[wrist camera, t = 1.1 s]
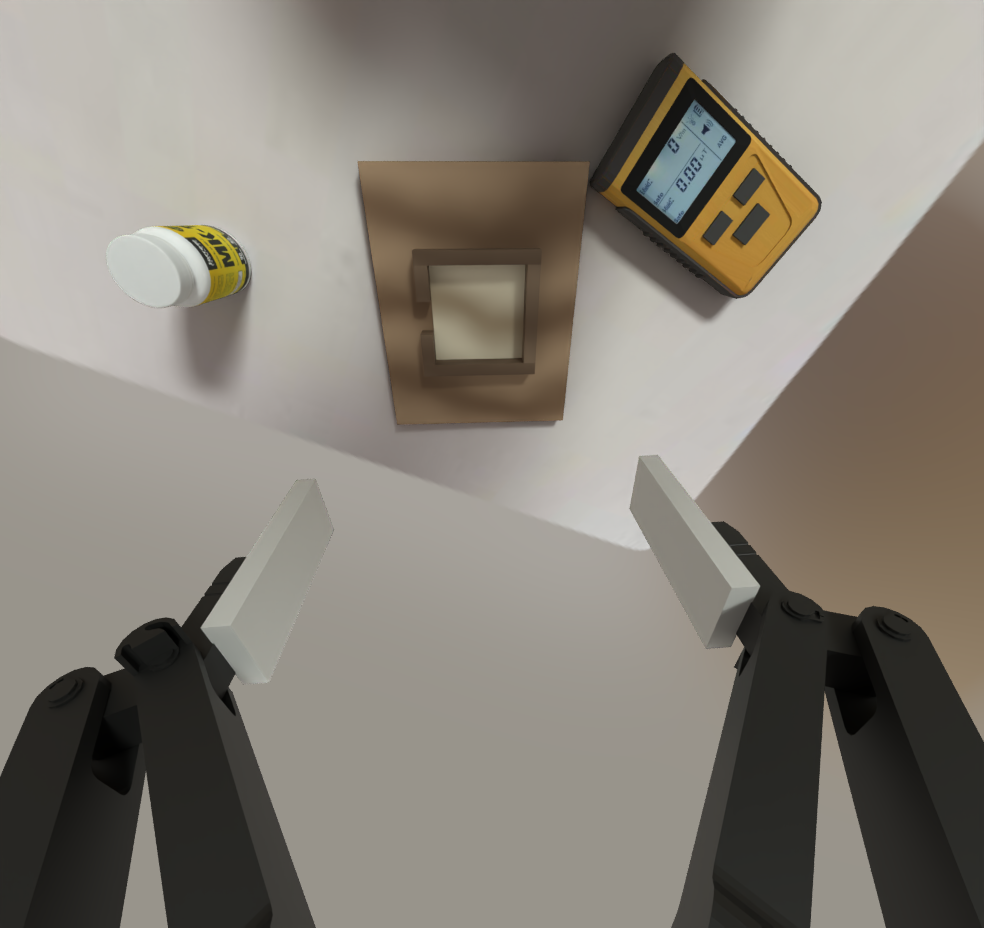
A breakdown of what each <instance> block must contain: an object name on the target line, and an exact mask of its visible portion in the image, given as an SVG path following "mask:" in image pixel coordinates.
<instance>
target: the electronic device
mask: <svg viewBox="0 0 984 928" xmlns="http://www.w3.org/2000/svg"><path fill="white" fill-rule="evenodd" d="M590 186H591V187H592V188H594V189H595V190H596V191H597V192H599V193H600V194H602V195H603V196H604V197H605V198H607V199H608V200H609V201H610V202H612V203H613V204H614V205H615V206H617V208H616V210H617V211H618V212H619V213H621V214H622V215H623V216H624V217H626V218H627V219H628V220H629V221H631V222H632V223H633V224H634V225H636V226H637V227H638V228H639V229H641V230H642V231H643V235H644V236H649V237H650V240H651V241H653V242H657V246H658V247H663V248H664V252H668V253H670V256H671V257H673V258H677V262H679V263H683V267H685V268H689V271H690V272H692V273H695V276H696V277H698V278H702V279H704V280H705V281H706V282H707V283H709V284H710V285H711V286H712V287H714V288H715V289H716V290H717V291H719V292H720V293H721V294H723V295H726V296H729V297H732V298H736V299H737V298H742V297H746V296H748V295H749V294H750V293H751V292H752V291H753V290H754V289H755V288H756V287H757V286H758V284H759V283H760V282H761V281H762V280H763V279H764V277H765V276H766V275H767V274H768V273H769V272H770V270H771V269H772V268H773V267H774V266H775V265H776V263H777V262H778V261H779V260H780V259H781V258H782V257H783V255H784V254H785V253H786V252H787V251H788V250H789V248H790V247H791V246H792V245H793V244H794V243H795V241H796V240H797V239H798V238H799V237H800V236H801V234H802V233H803V232H804V231H805V230H806V229H807V227H808V226H809V225H810V224H811V223H812V222H813V220H814V219H815V218H816V217H817V215H818V213H819V212H820V209H821V204H822V202H821V199H820V197H819V195H818V194H817V193H816V192H815V191H814V190H813V189H812V188H811V187H810V186H809V185H808V184H807V183H806V182H805V181H804V180H803V179H802V178H801V177H800V176H799V175H798V174H797V173H796V172H795V171H794V170H793V169H792V166H791V165H788V164H787V162H786V161H785V159H784V158H782V157H781V156H780V155H779V153H778V152H776V151H775V150H774V149H773V148H772V145H769V144H768V143H767V142H766V141H765V138H762V137H761V136H760V135H759V132H758V131H755V129H754V128H753V127H752V125H751V124H750V123H748V122H747V121H746V120H745V119H744V116H741V115H740V114H739V113H738V112H737V109H736V108H735V109H734V108H733V107H732V106H731V105H730V104H729V103H728V102H727V101H726V100H725V99H724V98H723V96H722V95H721V94H720V93H719V92H718V91H717V90H716V89H715V88H714V87H713V86H712V85H711V84H710V83H708V82H707V81H706V80H704V79H703V80H700V79H699V78H698V77H697V76H696V75H695V74H694V73H693V72H692V71H691V70H690V69H689V68H688V67H687V66H686V65H685V64H684V62H683V61H682V60H681V59H680V58H679V57H678V56H677V55H676V54H675V53H672V54H669V55H668V56H667V57H666V58H665V59H663V60H662V61H661V62H660V63H659V64H658V65H657V67H656V68H655V70H654V72H653V73H652V75H651V77H650V78H649V80H648V82H647V84H646V85H645V87H644V89H643V90H642V92H641V94H640V96H639V97H638V99H637V101H636V102H635V104H634V106H633V108H632V109H631V111H630V113H629V114H628V116H627V118H626V120H625V121H624V123H623V125H622V127H621V128H620V130H619V132H618V133H617V135H616V137H615V139H614V140H613V142H612V144H611V145H610V147H609V149H608V151H607V152H606V154H605V156H604V157H603V159H602V161H601V163H600V164H599V166H598V168H597V169H596V171H595V173H594V175H593V177H592V178H591V180H590Z"/></svg>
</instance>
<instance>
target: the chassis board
mask: <svg viewBox="0 0 984 928" xmlns="http://www.w3.org/2000/svg"><path fill="white" fill-rule="evenodd" d="M589 164H590V162H487V161H358V168H359V174H360V181H361V188H362V194H363V201H364V208H365V214H366V221H367V227H368V234H369V241H370V247H371V254H372V261H373V267H374V274H375V280H376V287H377V294H378V300H379V307H380V314H381V320H382V327H383V333H384V340H385V347H386V353H387V360H388V367H389V373H390V380H391V386H392V393H393V400H394V406H395V413H396V420H397V425H401V424H439V423H477V422H515V421H553V420H563V412H564V403H565V393H566V384H567V374H568V365H569V355H570V345H571V336H572V326H573V317H574V307H575V298H576V288H577V278H578V269H579V259H580V250H581V240H582V231H583V221H584V211H585V202H586V192H587V183H588V173H589Z"/></svg>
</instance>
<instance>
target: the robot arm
mask: <svg viewBox="0 0 984 928" xmlns="http://www.w3.org/2000/svg"><path fill="white" fill-rule="evenodd" d="M630 511H631V512H632V514H633V516H634V518H635V520H636V522H637V523H638V525H639V527H640V529H641V531H642V533H643V534H644V536H645V538H646V540H647V542H648V544H649V545H650V547H651V549H652V551H653V553H654V555H655V556H656V558H657V560H658V562H659V564H660V566H661V567H662V569H663V571H664V573H665V575H666V577H667V578H668V580H669V582H670V584H671V586H672V587H673V589H674V591H675V593H676V595H677V597H678V599H679V601H680V602H681V604H682V606H683V608H684V610H685V611H686V613H687V615H688V617H689V619H690V621H691V623H692V624H693V626H694V628H695V630H696V632H697V634H698V635H699V637H700V639H701V641H702V643H703V645H704V646H705V648H706V649H709V648H723V647H731V646H732V644H733V641H734V639H735V637H736V635H737V636H738V637H739V639H740V640H741V642H742V644H743V645H744V649H743V651H742V653H741V655H740V656H739V659H738V660H737V662H736V664H735V666H734V667H735V668H736V669H737V673H736V677H735V681H734V685H733V689H732V693H731V697H730V702H729V705H728V710H727V714H726V718H725V722H724V726H723V730H722V734H721V738H720V742H719V746H718V751H717V755H716V758H715V763H714V767H713V771H712V775H711V779H710V783H709V787H708V791H707V795H706V799H705V803H704V807H703V811H702V816H701V820H700V824H699V828H698V832H697V836H696V841H695V844H694V848H693V852H692V857H691V860H690V864H689V869H688V873H687V877H686V881H685V885H684V889H683V893H682V897H681V901H680V905H679V908H678V912H677V914H676V917H675V920H674V922H673V924H672V927H671V928H810V922H811V906H812V888H813V873H814V856H815V840H816V823H817V806H818V790H819V774H820V757H821V740H822V724H823V707H824V691H825V694H826V698H827V702H828V705H829V709H830V712H831V717H832V721H833V725H834V728H835V732H836V736H837V740H838V744H839V748H840V751H841V756H842V760H843V763H844V767H845V771H846V775H847V779H848V783H849V786H850V790H851V794H852V798H853V802H854V806H855V809H856V813H857V817H858V821H859V825H860V829H861V833H862V837H863V841H864V844H865V848H866V852H867V856H868V860H869V864H870V868H871V872H872V875H873V879H874V883H875V887H876V891H877V894H878V898H879V902H880V906H881V910H882V914H883V918H884V921H885V926H886V928H984V742H983V740H982V738H981V736H980V734H979V732H978V730H977V728H976V727H975V725H974V723H973V721H972V719H971V717H970V715H969V713H968V711H967V709H966V708H965V706H964V704H963V702H962V700H961V698H960V696H959V694H958V692H957V691H956V689H955V687H954V685H953V683H952V681H951V679H950V677H949V675H948V673H947V672H946V670H945V668H944V666H943V664H942V662H941V660H940V658H939V656H938V655H937V653H936V651H935V649H934V647H933V645H932V643H931V641H930V639H929V637H928V636H927V635H926V633H925V632H924V631H923V630H922V628H921V627H920V626H918V625H917V624H916V623H915V622H913V621H912V620H911V619H909V618H907V617H906V616H904V615H902V614H900V613H898V612H896V611H893V610H890V609H887V608H884V607H876V606H872V607H868V608H865V609H864V610H863V611H862V612H861V614H860V615H859V616H858V617H855V616H849V615H844V614H839V613H833V612H828V611H824V610H822V608H821V607H820V606H819V605H818V604H816V603H815V602H814V601H813V600H811V599H809V598H807V597H805V596H803V595H802V594H799V593H795V592H792V591H789V590H788V589H787V588H786V587H785V586H784V585H783V583H782V582H781V581H780V580H779V579H778V577H777V576H776V575H775V574H774V573H773V572H772V570H771V569H770V568H769V567H768V566H767V564H766V563H765V562H764V561H763V560H762V559H761V557H760V556H759V555H756V551H755V550H754V549H753V548H752V547H751V546H750V545H748V542H747V541H746V540H745V539H744V537H743V536H742V535H741V534H740V533H739V532H738V531H737V530H736V529H734V528H733V527H731V526H730V525H728V524H727V523H725V522H724V521H723V522H710V521H709V520H708V518H707V517H706V516H705V515H704V514H703V512H702V511H701V510H700V508H699V507H698V506H697V504H696V503H695V502H694V501H693V499H692V498H691V497H690V495H689V494H688V493H687V492H686V490H685V489H684V488H683V487H682V485H681V484H680V483H679V481H678V480H677V479H676V478H675V476H674V475H673V474H672V472H671V471H670V470H669V469H668V467H667V466H666V465H665V464H664V462H663V461H662V460H661V458H660V457H659V456H658V455H650V456H639V460H638V465H637V471H636V476H635V482H634V487H633V493H632V498H631V504H630ZM333 531H334V529H333V526H332V523H331V520H330V518H329V515H328V513H327V509H326V507H325V504H324V501H323V498H322V496H321V493H320V490H319V487H318V484H317V482H316V479H306V480H296V481H295V483H294V485H293V486H292V488H291V489H290V491H289V492H288V494H287V495H286V497H285V499H284V500H283V502H282V503H281V505H280V506H279V508H278V509H277V511H276V513H275V514H274V516H273V517H272V519H271V520H270V522H269V523H268V525H267V526H266V528H265V529H264V531H263V532H262V534H261V535H260V537H259V539H258V540H257V542H256V543H255V545H254V546H253V548H252V550H251V551H250V553H249V554H248V556H247V557H238V558H235V559H234V560H232V561H231V562H230V563H229V564H228V565H226V566H225V567H224V568H223V569H222V570H221V571H220V572H219V574H218V575H217V577H216V578H215V580H214V581H213V583H212V586H210V587H209V588H208V590H207V591H206V593H205V596H204V597H202V598H201V600H200V601H199V603H198V604H197V606H196V607H195V608H194V610H193V611H192V613H191V614H190V616H189V617H188V619H187V620H186V621H185V623H184V624H183V626H182V627H180V626H179V624H178V623H177V622H176V621H175V619H171V618H160V619H155V620H153V621H150V622H148V623H145V624H143V625H142V626H140V627H139V628H137V629H136V630H134V631H132V632H131V633H130V634H129V635H128V636H127V637H126V638H125V639H124V640H123V641H122V642H121V643H120V645H119V646H118V648H117V649H116V653H115V657H114V658H115V659H116V660H117V661H118V662H119V663H120V664H121V665H122V666H123V667H124V668H125V669H122V670H119V671H116V672H113V673H110V674H107V675H104V676H103V675H102V674H101V673H100V672H99V671H98V670H96V669H95V668H93V667H84V668H80V669H77V670H74V671H71V672H69V673H67V674H66V675H63V676H62V677H60V678H58V679H57V680H56V681H54V682H53V683H51V684H50V685H49V686H47V687H46V688H45V689H44V690H43V691H42V692H41V693H40V694H39V695H38V696H37V697H36V699H35V700H34V702H33V704H32V705H31V707H30V709H29V711H28V713H27V716H26V718H25V721H24V723H23V725H22V727H21V730H20V732H19V734H18V736H17V739H16V741H15V744H14V746H13V748H12V751H11V753H10V755H9V758H8V760H7V762H6V764H5V767H4V769H3V771H2V774H1V776H0V928H120V923H121V917H122V911H123V905H124V899H125V893H126V887H127V881H128V875H129V869H130V863H131V857H132V851H133V845H134V839H135V833H136V827H137V821H138V815H139V809H140V803H141V797H142V790H143V785H144V778H145V773H147V780H148V787H149V794H150V801H151V809H152V816H153V823H154V830H155V837H156V844H157V852H158V858H159V866H160V872H161V880H162V887H163V894H164V901H165V909H166V915H167V923H168V928H316V927H315V924H314V921H313V919H312V916H311V913H310V910H309V907H308V904H307V902H306V899H305V896H304V893H303V890H302V887H301V885H300V882H299V879H298V876H297V873H296V870H295V868H294V865H293V862H292V859H291V856H290V854H289V851H288V848H287V845H286V843H285V839H284V837H283V834H282V831H281V828H280V825H279V822H278V820H277V817H276V814H275V811H274V808H273V806H272V803H271V800H270V797H269V794H268V791H267V789H266V786H265V783H264V780H263V777H262V774H261V772H260V769H259V766H258V764H257V760H256V757H255V755H254V752H253V749H252V746H251V743H250V740H249V738H248V735H247V732H246V729H245V726H244V723H243V721H242V718H241V715H240V712H239V709H238V706H237V704H236V701H235V698H234V695H233V692H232V691H231V690H230V689H229V685H230V683H231V681H232V679H233V677H234V675H235V674H236V676H237V677H238V678H239V680H240V681H241V682H242V684H256V683H269V681H270V679H271V677H272V674H273V672H274V669H275V667H276V665H277V662H278V660H279V658H280V655H281V653H282V651H283V648H284V646H285V644H286V641H287V639H288V637H289V634H290V632H291V630H292V627H293V625H294V623H295V620H296V618H297V616H298V613H299V611H300V608H301V606H302V604H303V602H304V599H305V597H306V595H307V592H308V590H309V587H310V585H311V583H312V580H313V578H314V576H315V573H316V571H317V569H318V566H319V564H320V562H321V559H322V557H323V555H324V552H325V550H326V548H327V545H328V543H329V541H330V538H331V536H332V534H333Z"/></svg>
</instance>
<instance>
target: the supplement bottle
mask: <svg viewBox="0 0 984 928" xmlns="http://www.w3.org/2000/svg"><path fill="white" fill-rule="evenodd" d="M106 261H107V266H108V269H109V272H110V274H111V276H112V278H113V279H114V281H115V282H116V284H117V285H118V286H119V287H120V288H121V289H122V290H123V291H124V292H125V293H126V294H127V295H128V296H129V297H131V298H132V299H134V300H135V301H137V302H139V303H141V304H143V305H146V306H149V307H154V308H165V307H170V306H176V307H194V306H197V305H200V304H203V303H207V302H210V301H213V300H216V299H219V298H222V297H225V296H229V295H232V294H235V293H237V292H240V291H241V290H243V289H244V288H245V287H246V286H247V284H248V282H249V280H250V276H251V266H250V261H249V258H248V256H247V254H246V252H245V250H244V248H243V247H242V246H241V244H240V243H239V242H238V241H237V240H236V239H235V238H234V237H233V236H231V235H230V234H229V233H227V232H225V231H224V230H222V229H219V228H217V227H214V226H208V225H192V226H153V227H146V228H143V229H140V230H138V231H137V232H135V233H134V234H130V235H123V236H119V237H117V238H115V239H114V240H113V241H112V242H111V243H110V244H109V246H108V248H107V252H106Z"/></svg>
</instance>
